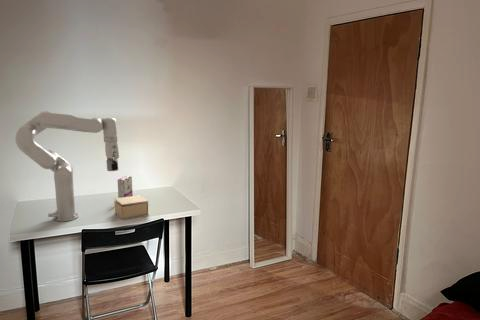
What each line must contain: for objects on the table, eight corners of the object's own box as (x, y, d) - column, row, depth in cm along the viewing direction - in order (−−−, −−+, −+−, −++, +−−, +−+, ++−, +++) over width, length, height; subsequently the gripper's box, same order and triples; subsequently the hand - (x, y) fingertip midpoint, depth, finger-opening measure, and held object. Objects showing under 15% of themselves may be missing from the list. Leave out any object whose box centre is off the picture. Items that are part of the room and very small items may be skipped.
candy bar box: (126, 198, 257) (125, 175, 253) (132, 199, 256) (132, 176, 252) (117, 203, 246) (117, 179, 242) (124, 203, 245) (124, 180, 241)
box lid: (122, 205, 215) (122, 204, 215) (114, 199, 225) (114, 198, 225) (148, 202, 225) (148, 200, 225) (139, 196, 235) (139, 195, 235)
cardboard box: (122, 219, 217) (122, 207, 216) (114, 213, 227) (114, 201, 226) (148, 214, 227) (148, 202, 225) (139, 208, 237) (139, 197, 235)
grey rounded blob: (109, 171, 218) (108, 161, 217) (105, 169, 223) (104, 159, 221) (120, 170, 222) (119, 160, 220) (116, 168, 227) (115, 158, 225)
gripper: (122, 140, 214) (124, 170, 218) (111, 136, 227) (113, 165, 231) (109, 141, 209) (111, 172, 213) (99, 137, 222) (101, 166, 226)
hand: (112, 168), depth 222 cm, fingers closed on grey rounded blob, 6 cm apart
